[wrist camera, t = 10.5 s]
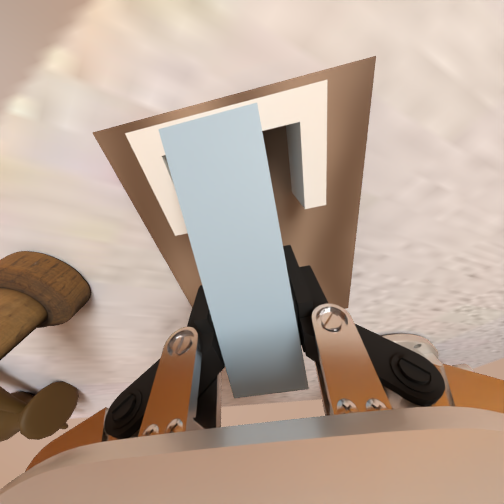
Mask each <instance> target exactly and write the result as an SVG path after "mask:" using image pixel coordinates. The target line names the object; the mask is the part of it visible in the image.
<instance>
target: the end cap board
mask: <svg viewBox="0 0 504 504" xmlns="http://www.w3.org/2000/svg"><path fill="white" fill-rule="evenodd" d="M375 61H376V56H374V57H370V58H366V59H363V60H359V61H355V62H352V63H348V64H344V65H341V66H337V67H333V68H330V69H326V70H322V71H318V72H315V73H311V74H307V75H304V76H300V77H296V78H293V79H289V80H285V81H282V82H278V83H274V84H270V85H267V86H263V87H259V88H256V89H252V90H248V91H245V92H241V93H237V94H234V95H230V96H226V97H222V98H219V99H215V100H211V101H208V102H204V103H200V104H197V105H193V106H189V107H186V108H182V109H178V110H174V111H171V112H167V113H163V114H160V115H156V116H152V117H149V118H145V119H141V120H138V121H134V122H130V123H126V124H123V125H119V126H115V127H112V128H108V129H104V130H101V131H97V132H93V134H94V136H95V138H96V140H97V141H98V143H99V145H100V147H101V148H102V150H103V152H104V154H105V155H106V157H107V159H108V161H109V162H110V164H111V166H112V168H113V169H114V171H115V173H116V175H117V176H118V178H119V180H120V182H121V183H122V185H123V187H124V189H125V191H126V192H127V194H128V196H129V198H130V199H131V201H132V203H133V205H134V206H135V208H136V210H137V212H138V213H139V215H140V217H141V219H142V220H143V222H144V224H145V226H146V227H147V229H148V231H149V233H150V234H151V236H152V238H153V240H154V241H155V243H156V245H157V247H158V248H159V250H160V252H161V254H162V255H163V257H164V259H165V261H166V262H167V264H168V266H169V268H170V269H171V271H172V273H173V275H174V276H175V278H176V280H177V282H178V283H179V285H180V287H181V289H182V290H183V292H184V294H185V296H186V297H187V299H188V301H189V303H190V304H191V306H192V308H193V305H194V301H195V298H196V295H197V291H198V288H199V286H200V285H202V282H201V279H200V275H199V272H198V268H197V264H196V261H195V257H194V254H193V250H192V247H191V243H190V240H189V236H188V233H187V234H182V235H177V236H175V234H174V232H173V230H172V228H171V226H170V224H169V222H168V220H167V218H166V216H165V214H164V212H163V210H162V208H161V206H160V204H159V202H158V200H157V198H156V196H155V194H154V192H153V190H152V188H151V186H150V184H149V181H148V179H147V177H146V175H145V173H144V171H143V169H142V167H141V165H140V163H139V161H138V159H137V157H136V155H135V153H134V151H133V149H132V147H131V145H130V143H129V141H128V139H127V137H126V135H125V133H128V132H132V131H136V130H139V129H143V128H147V127H151V126H154V125H158V124H162V123H166V122H169V121H173V120H177V119H181V118H185V117H188V116H192V115H196V114H200V113H203V112H207V111H211V110H215V109H218V108H222V107H226V106H230V105H233V104H237V103H241V102H245V101H249V100H252V99H256V98H260V97H264V96H267V95H271V94H275V93H279V92H282V91H286V90H290V89H294V88H297V87H301V86H305V85H309V84H312V83H316V82H320V81H324V80H327V171H326V205H323V206H318V207H313V208H309V209H304V207H303V206H302V205H301V203H300V202H299V201H298V200H297V198H296V197H295V196H294V194H293V193H292V187H291V175H290V164H289V153H288V142H287V131H286V125H285V126H281V127H277V128H273V129H269V130H265V131H262V133H263V138H264V144H265V149H266V155H267V161H268V166H269V172H270V177H271V183H272V188H273V194H274V199H275V205H276V210H277V216H278V222H279V227H280V233H281V238H282V244H283V246H286V245H291V247H292V250H293V252H294V255H295V257H296V260H297V262H298V265H299V267H302V266H308V265H310V266H311V268H312V270H313V272H314V274H315V276H316V278H317V280H318V282H319V284H320V287H321V289H322V291H323V293H324V295H325V297H326V299H327V301H328V303H329V304H335V305H338V306H340V307H342V308H344V309H345V308H348V304H349V295H350V286H351V277H352V268H353V259H354V250H355V241H356V232H357V223H358V214H359V205H360V196H361V187H362V178H363V169H364V160H365V151H366V142H367V133H368V124H369V115H370V106H371V97H372V88H373V79H374V70H375Z"/></svg>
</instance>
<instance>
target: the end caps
mask: <svg viewBox="0 0 504 504" xmlns="http://www.w3.org/2000/svg"><path fill="white" fill-rule="evenodd" d="M253 103H257V105H258V111H259V116H260V122H261V127H262V131H265V130H269V129H273V128H277V127H281V126H285V125H286V131H287V142H288V153H289V164H290V175H291V187H292V193H293V194H294V196H295V197H296V198H297V200H298V201H299V202H300V203H301V205H302V206H303V207H304V209H309V208H313V207H318V206H323V205H326V171H327V80H324V81H320V82H316V83H312V84H309V85H305V86H301V87H297V88H294V89H290V90H286V91H282V92H279V93H275V94H271V95H267V96H264V97H260V98H256V99H252V100H249V101H245V102H241V103H237V104H233V105H230V106H226V107H222V108H218V109H215V110H211V111H207V112H203V113H200V114H196V115H192V116H188V117H185V118H181V119H177V120H173V121H169V122H166V123H162V124H158V125H154V126H151V127H147V128H143V129H139V130H136V131H132V132H128V133H125V135H126V137H127V139H128V141H129V143H130V145H131V147H132V149H133V151H134V153H135V155H136V157H137V159H138V161H139V163H140V165H141V167H142V169H143V171H144V173H145V175H146V177H147V179H148V181H149V184H150V186H151V188H152V190H153V192H154V194H155V196H156V198H157V200H158V202H159V204H160V206H161V208H162V210H163V212H164V214H165V216H166V218H167V220H168V222H169V224H170V226H171V228H172V230H173V232H174V234H175V236H177V235H182V234H187V229H186V226H185V222H184V218H183V215H182V211H181V208H180V204H179V201H178V197H177V194H176V190H175V187H174V183H173V180H172V176H171V172H170V169H169V165H168V162H167V158H166V155H165V151H164V148H163V144H162V141H161V137H160V133H159V130H158V129H161V128H165V127H169V126H172V125H176V124H180V123H183V122H187V121H191V120H194V119H198V118H202V117H206V116H209V115H213V114H217V113H220V112H224V111H228V110H231V109H235V108H239V107H242V106H246V105H250V104H253Z"/></svg>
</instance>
